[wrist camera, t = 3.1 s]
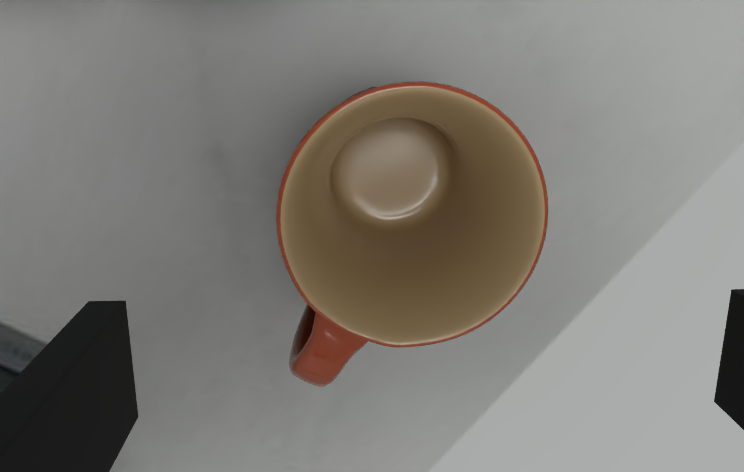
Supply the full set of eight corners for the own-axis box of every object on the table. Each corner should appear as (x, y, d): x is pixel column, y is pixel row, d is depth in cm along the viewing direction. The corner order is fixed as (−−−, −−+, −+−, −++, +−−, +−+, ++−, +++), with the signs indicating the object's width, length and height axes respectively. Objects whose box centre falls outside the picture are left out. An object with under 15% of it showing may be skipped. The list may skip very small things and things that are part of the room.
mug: (353, 29, 30) (363, 26, 20) (518, 129, 31) (602, 171, 21) (228, 256, 32) (183, 353, 22) (386, 338, 34) (408, 461, 24)
